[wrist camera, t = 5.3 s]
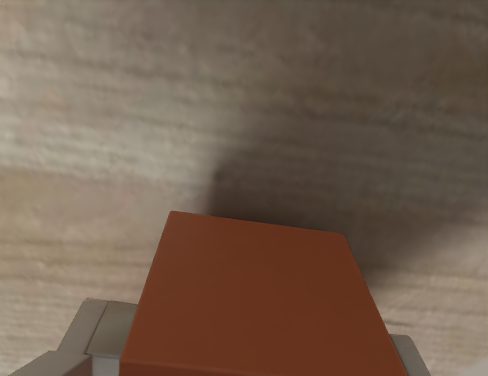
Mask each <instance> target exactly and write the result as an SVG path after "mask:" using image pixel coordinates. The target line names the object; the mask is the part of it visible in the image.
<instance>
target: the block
mask: <svg viewBox="0 0 488 376" xmlns="http://www.w3.org/2000/svg"><path fill="white" fill-rule="evenodd" d="M119 376H408V375H407V373H406V371H405V369H404V367H403V364H402V362H401V360H400V358H399V356H398V353H397V351H396V349H395V347H394V344H393V342H392V340H391V338H390V336H389V333H388V331H387V329H386V327H385V325H384V322H383V320H382V318H381V316H380V314H379V311H378V309H377V307H376V305H375V303H374V300H373V298H372V296H371V294H370V291H369V289H368V287H367V285H366V283H365V280H364V278H363V276H362V274H361V272H360V269H359V267H358V265H357V263H356V261H355V258H354V256H353V254H352V252H351V250H350V247H349V245H348V243H347V241H346V239H345V236H344V234H342V233H336V232H329V231H321V230H313V229H306V228H298V227H291V226H283V225H276V224H268V223H261V222H253V221H246V220H238V219H230V218H223V217H215V216H208V215H200V214H193V213H185V212H178V211H170V213H169V216H168V219H167V222H166V225H165V227H164V230H163V233H162V236H161V239H160V242H159V245H158V248H157V251H156V254H155V257H154V260H153V263H152V266H151V268H150V271H149V274H148V277H147V280H146V283H145V286H144V289H143V292H142V295H141V298H140V301H139V304H138V306H137V309H136V312H135V315H134V318H133V321H132V324H131V327H130V330H129V333H128V336H127V339H126V342H125V344H124V347H123V350H122V353H121V356H120V359H119Z"/></svg>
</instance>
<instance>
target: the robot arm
mask: <svg viewBox="0 0 488 376" xmlns="http://www.w3.org/2000/svg"><path fill="white" fill-rule="evenodd" d="M137 306H138V304H131V303H124V302H117V301H107V300H100V299H93V298H87V299H86V300H85V301H83V303H82V305H81V306H80V308H79V310H78V312H77V314H76V316H75V318H74V319H73V321H72V323H71V325H70V327H69V329H68V331H67V332H66V334H65V336H64V338H63V340H62V342H61V344H60V345H59V347H58V349H57V351H48V352H46V353H44V354H43V355H41V356H40V357H38V358H36V359H35V360H33V361H31V362H30V363H28V364H26V365H25V366H23V367H22V368H20V369H18V370H17V371H15V372H13V373H12V374H10V375H9V376H119V359H120V356H121V353H122V350H123V347H124V344H125V342H126V339H127V336H128V333H129V330H130V327H131V324H132V321H133V318H134V315H135V312H136V309H137ZM389 336H390V338H391V340H392V342H393V344H394V347H395V349H396V351H397V353H398V356H399V358H400V360H401V362H402V364H403V367H404V369H405V371H406V373H407V375H408V376H431V375H430V373H429V371H428V369H427V367H426V365H425V363H424V362H423V360H422V358H421V356H420V354H419V352H418V350H417V348H416V346H415V344H414V342H413V341H412V339H411V338H410V337H409V336H408V335H398V334H389Z"/></svg>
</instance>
